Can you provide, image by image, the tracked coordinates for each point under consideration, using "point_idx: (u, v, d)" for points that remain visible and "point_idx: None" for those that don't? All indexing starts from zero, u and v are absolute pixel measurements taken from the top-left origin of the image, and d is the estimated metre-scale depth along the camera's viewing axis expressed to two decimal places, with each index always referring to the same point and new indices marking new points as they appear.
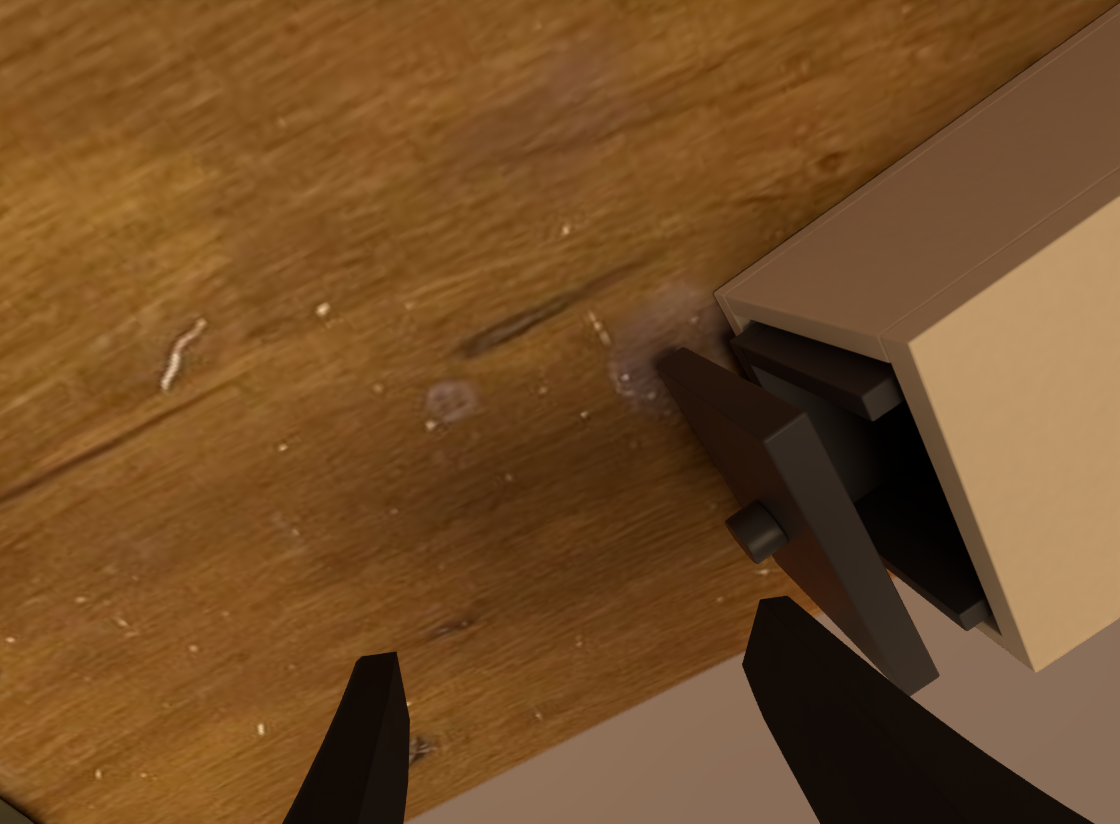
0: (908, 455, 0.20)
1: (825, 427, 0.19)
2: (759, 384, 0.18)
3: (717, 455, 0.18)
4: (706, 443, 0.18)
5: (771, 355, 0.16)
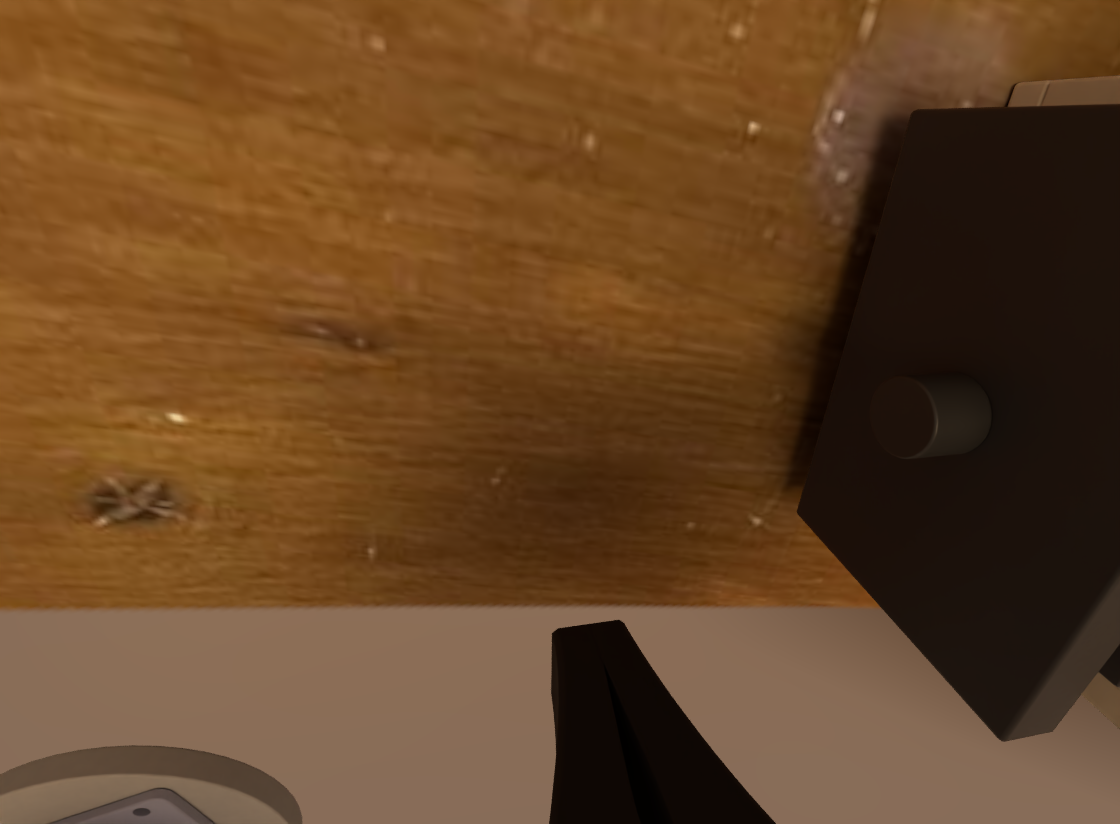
0: None
1: None
2: None
3: (905, 295, 0.11)
4: (888, 276, 0.12)
5: None
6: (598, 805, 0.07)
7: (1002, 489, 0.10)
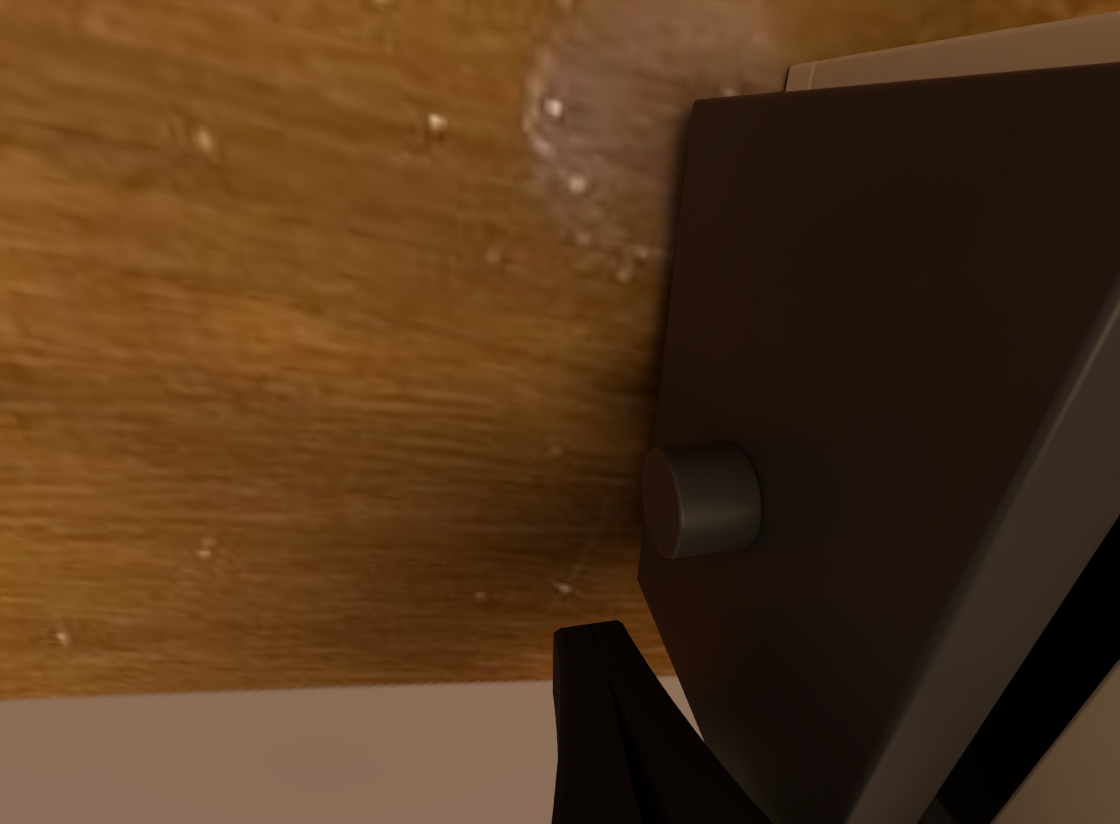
0: None
1: None
2: None
3: (696, 336, 0.09)
4: (683, 311, 0.09)
5: None
6: (600, 805, 0.07)
7: (773, 606, 0.07)
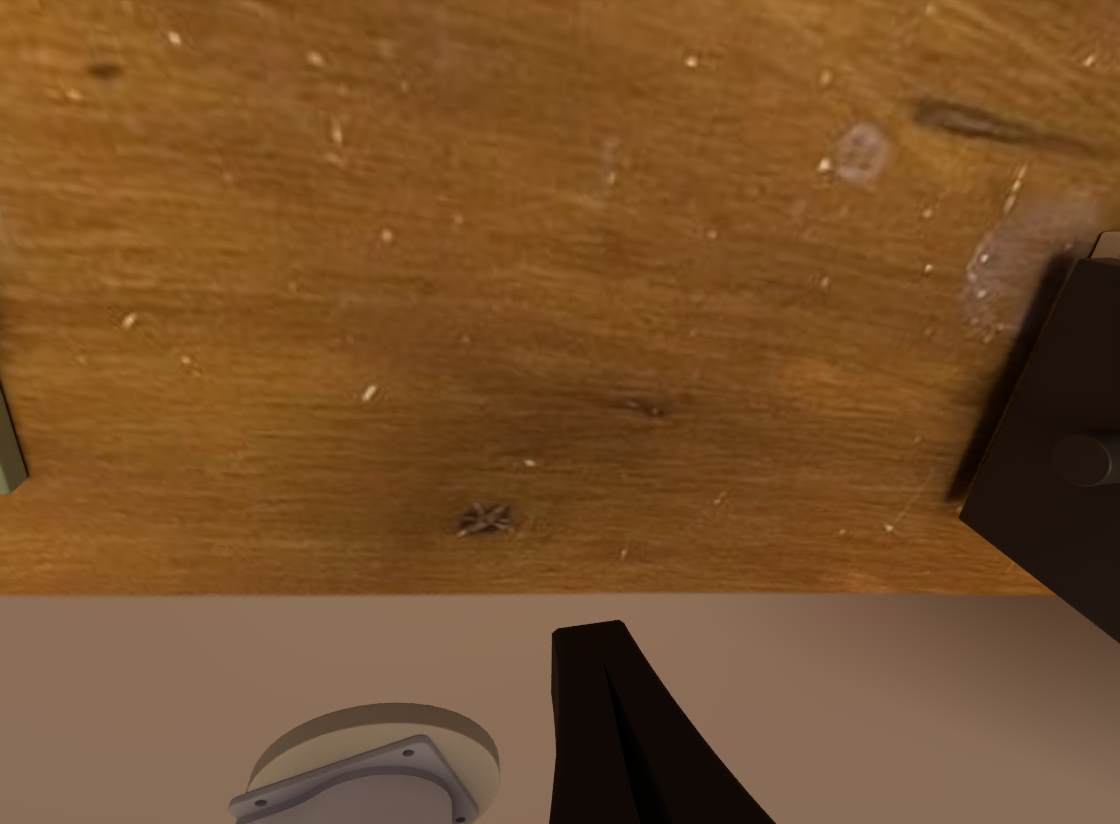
0: None
1: None
2: None
3: (1071, 376, 0.17)
4: (1055, 362, 0.18)
5: None
6: (598, 805, 0.07)
7: None
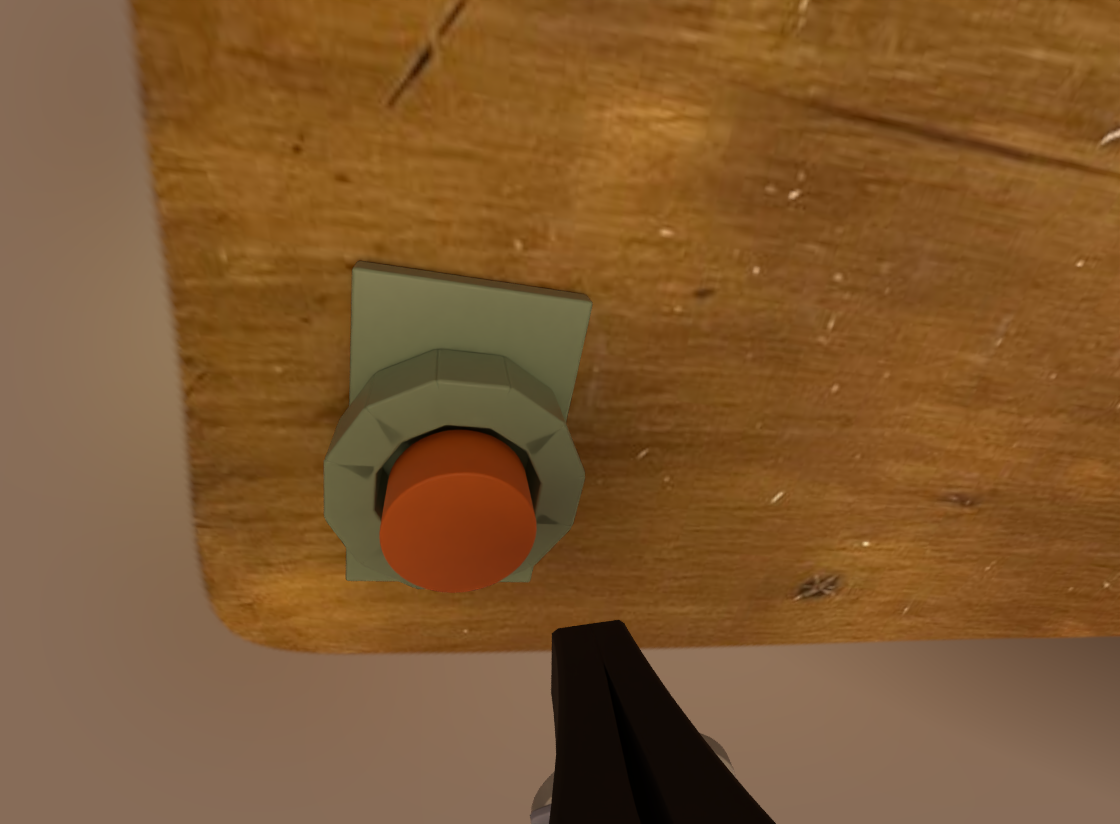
0: None
1: None
2: None
3: None
4: None
5: None
6: (598, 805, 0.07)
7: None
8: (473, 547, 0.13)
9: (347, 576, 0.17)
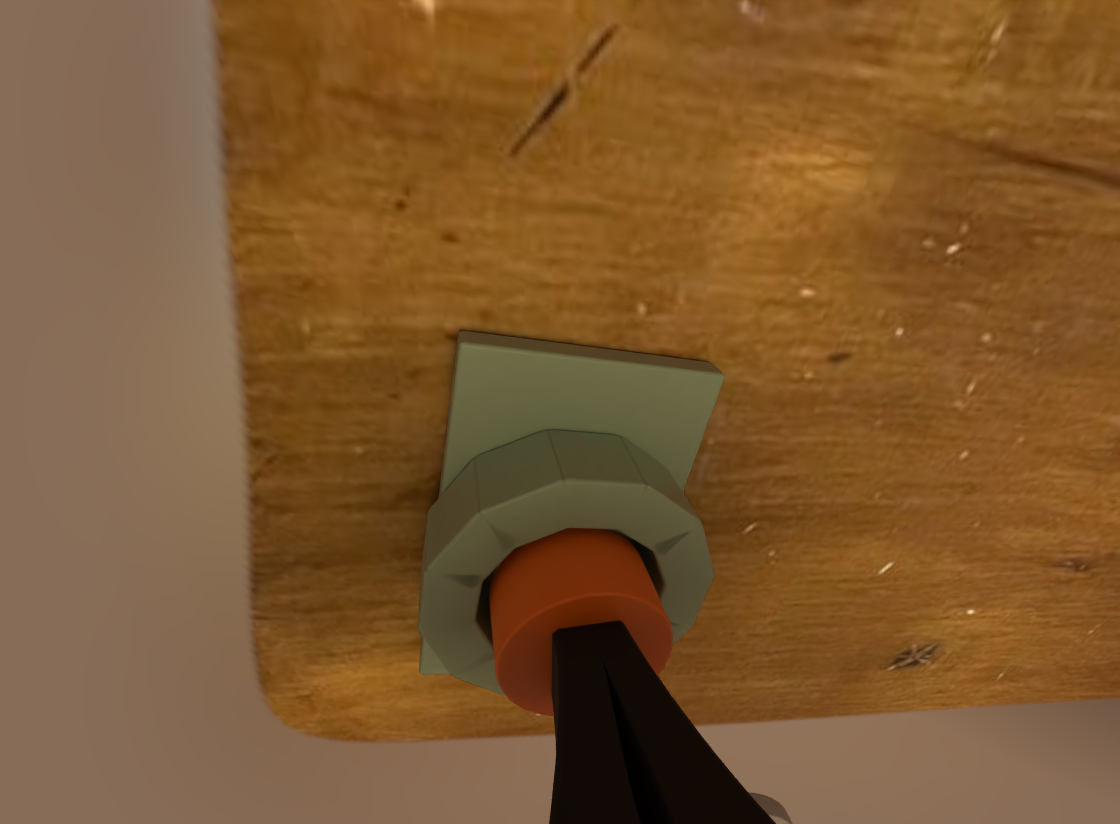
0: None
1: None
2: None
3: None
4: None
5: None
6: (598, 805, 0.07)
7: None
8: None
9: (421, 670, 0.15)
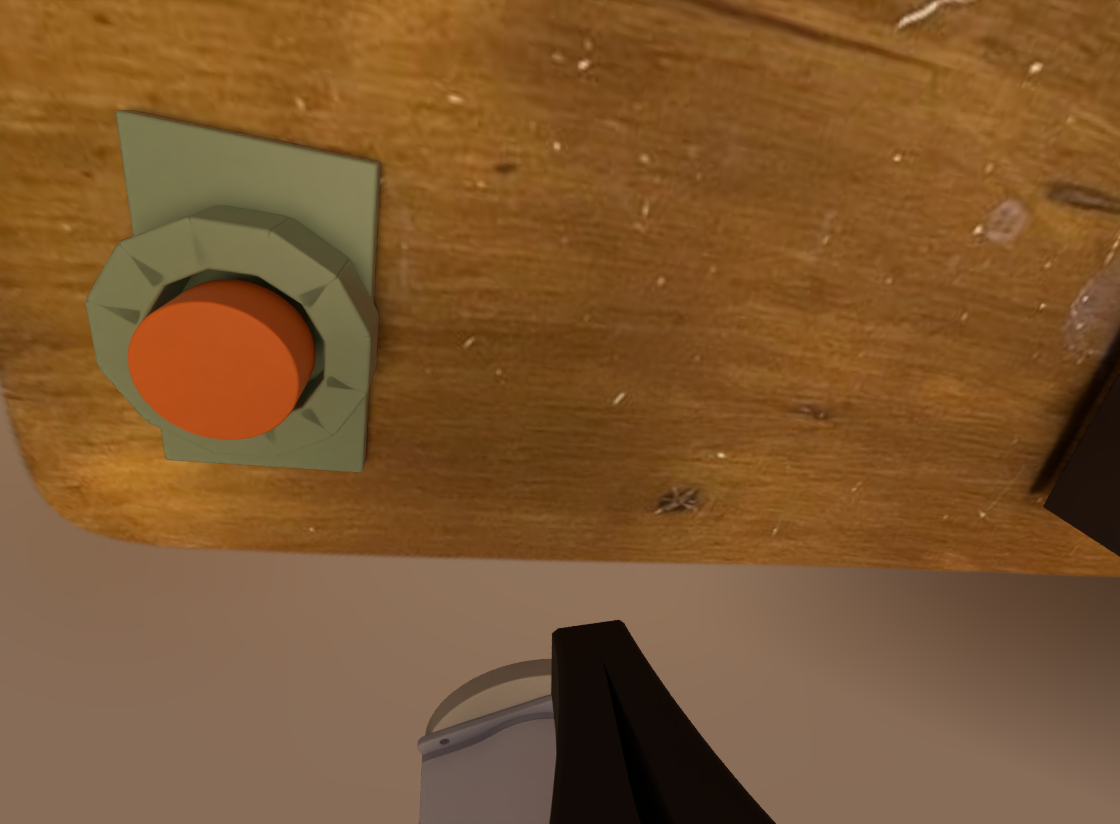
0: None
1: None
2: None
3: None
4: None
5: None
6: (598, 805, 0.07)
7: None
8: (233, 388, 0.13)
9: (166, 455, 0.17)
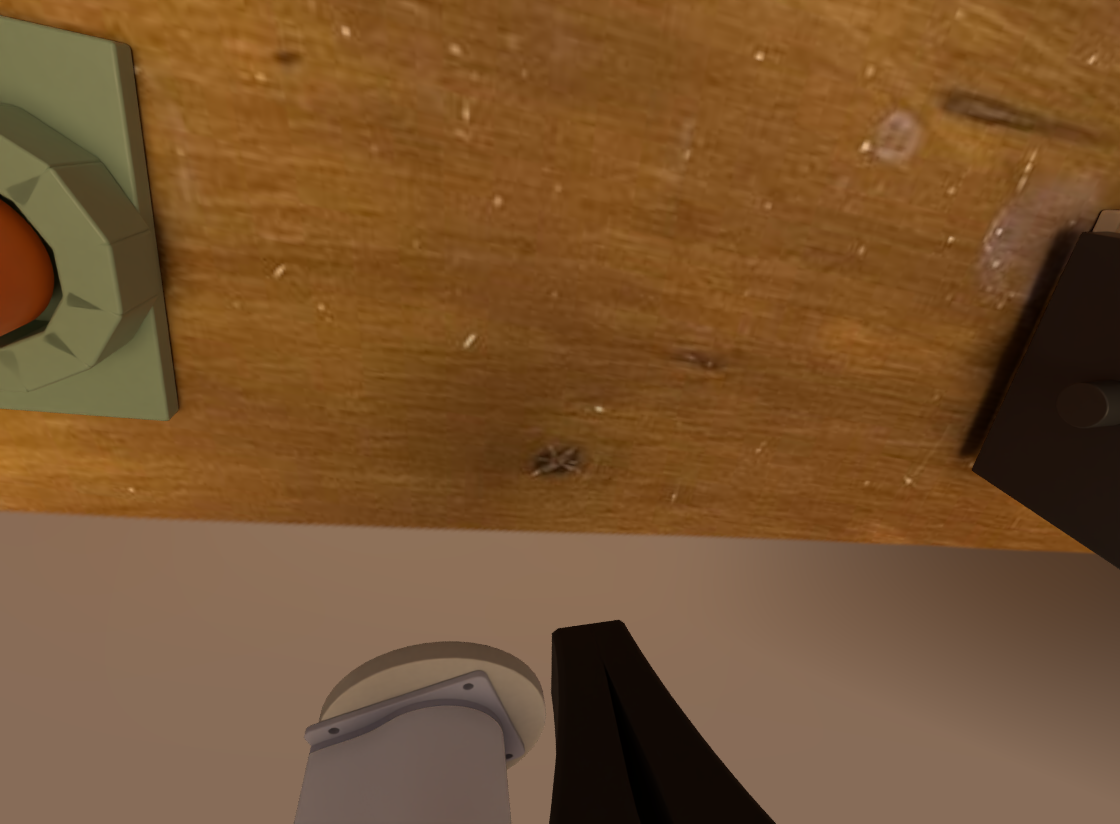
0: None
1: None
2: None
3: (1074, 335, 0.20)
4: (1060, 324, 0.20)
5: None
6: (598, 805, 0.07)
7: None
8: None
9: None
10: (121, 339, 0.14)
